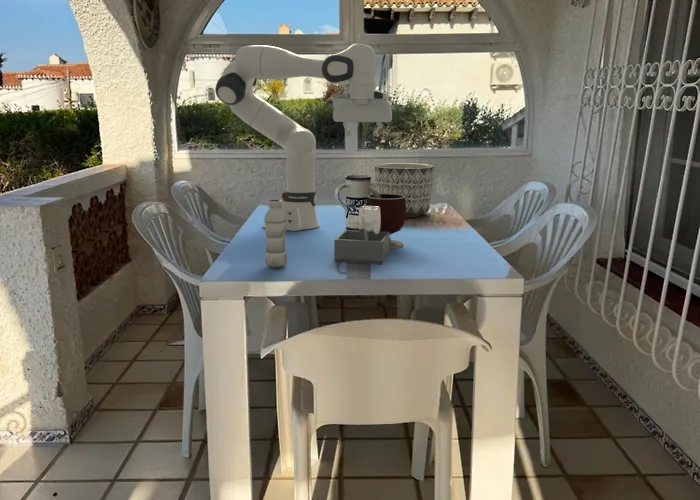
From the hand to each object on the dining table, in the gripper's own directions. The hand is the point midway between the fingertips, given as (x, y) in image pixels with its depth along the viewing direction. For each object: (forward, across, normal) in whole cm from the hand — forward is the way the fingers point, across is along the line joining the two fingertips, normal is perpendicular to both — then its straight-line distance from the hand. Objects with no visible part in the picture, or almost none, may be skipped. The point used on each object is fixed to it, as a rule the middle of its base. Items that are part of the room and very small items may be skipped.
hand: (362, 135), depth 200 cm
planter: (+37, +9, +56) cm, 68 cm away
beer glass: (+36, +7, -25) cm, 44 cm away
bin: (+37, +5, -25) cm, 45 cm away
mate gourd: (+37, +9, -6) cm, 39 cm away
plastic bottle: (+37, -18, -42) cm, 59 cm away
